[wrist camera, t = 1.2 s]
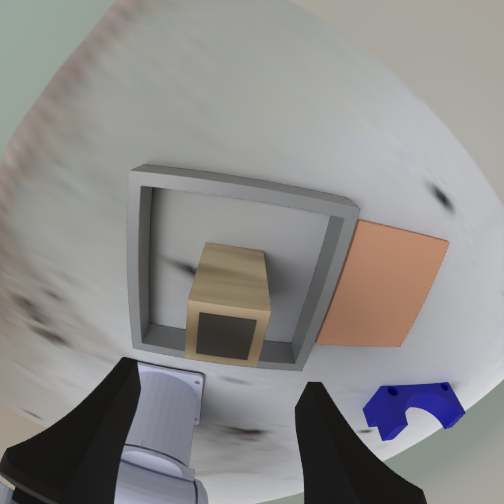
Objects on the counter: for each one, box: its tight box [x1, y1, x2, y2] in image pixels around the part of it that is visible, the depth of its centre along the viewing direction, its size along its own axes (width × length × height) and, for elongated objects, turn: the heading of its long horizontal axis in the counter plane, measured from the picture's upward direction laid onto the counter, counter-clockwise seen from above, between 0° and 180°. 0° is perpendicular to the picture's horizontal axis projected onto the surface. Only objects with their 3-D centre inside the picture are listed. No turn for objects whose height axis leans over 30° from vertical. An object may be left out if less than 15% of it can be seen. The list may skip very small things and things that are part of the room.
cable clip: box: [363, 382, 465, 441], centre depth 26 cm, size 12×4×6 cm, turn 77°
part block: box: [185, 242, 271, 367], centre depth 17 cm, size 4×4×7 cm
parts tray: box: [127, 164, 360, 371], centre depth 20 cm, size 14×14×2 cm
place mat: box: [315, 219, 449, 347], centre depth 22 cm, size 11×9×1 cm
